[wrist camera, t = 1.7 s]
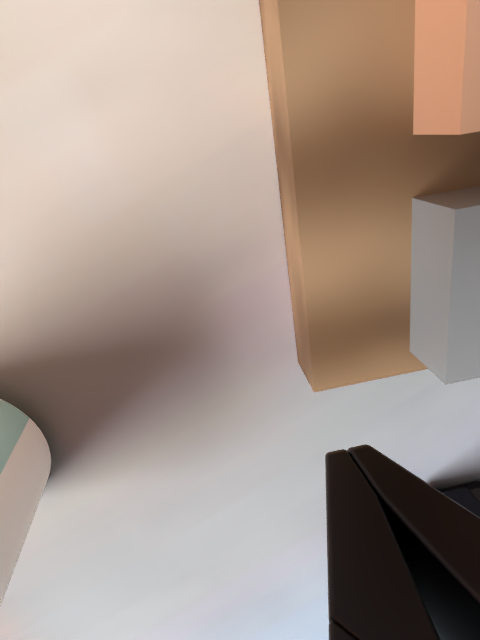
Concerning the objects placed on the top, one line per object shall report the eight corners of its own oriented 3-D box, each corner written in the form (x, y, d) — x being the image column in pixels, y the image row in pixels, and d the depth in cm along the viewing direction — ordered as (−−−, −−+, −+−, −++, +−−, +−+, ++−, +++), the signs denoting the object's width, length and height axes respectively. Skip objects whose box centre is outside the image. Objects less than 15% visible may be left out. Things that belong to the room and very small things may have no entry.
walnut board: (545, 312, 20) (591, 335, 18) (298, 362, 20) (314, 392, 17) (617, -143, 14) (705, -199, 11) (248, -95, 13) (264, -143, 11)
